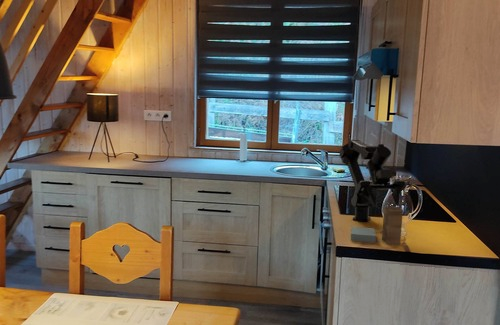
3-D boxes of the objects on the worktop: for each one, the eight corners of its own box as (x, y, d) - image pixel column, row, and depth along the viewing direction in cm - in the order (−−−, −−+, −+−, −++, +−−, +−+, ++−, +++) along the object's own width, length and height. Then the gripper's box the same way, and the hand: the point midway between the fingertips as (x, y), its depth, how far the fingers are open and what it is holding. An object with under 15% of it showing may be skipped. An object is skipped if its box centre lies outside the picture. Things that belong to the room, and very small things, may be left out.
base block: (350, 233, 178) (351, 226, 178) (374, 236, 177) (374, 228, 176) (350, 241, 170) (351, 233, 169) (375, 243, 168) (375, 235, 167)
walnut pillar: (381, 239, 171) (384, 206, 169) (394, 239, 172) (396, 206, 169) (387, 244, 166) (389, 210, 164) (400, 244, 167) (402, 210, 164)
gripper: (360, 160, 174) (369, 195, 165) (406, 160, 176) (417, 194, 167) (352, 176, 183) (360, 210, 174) (395, 176, 185) (406, 209, 176)
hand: (386, 205), depth 173 cm, fingers open, 9 cm apart
